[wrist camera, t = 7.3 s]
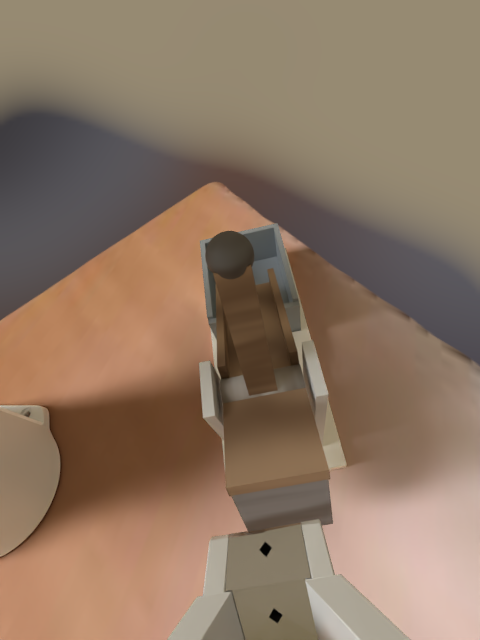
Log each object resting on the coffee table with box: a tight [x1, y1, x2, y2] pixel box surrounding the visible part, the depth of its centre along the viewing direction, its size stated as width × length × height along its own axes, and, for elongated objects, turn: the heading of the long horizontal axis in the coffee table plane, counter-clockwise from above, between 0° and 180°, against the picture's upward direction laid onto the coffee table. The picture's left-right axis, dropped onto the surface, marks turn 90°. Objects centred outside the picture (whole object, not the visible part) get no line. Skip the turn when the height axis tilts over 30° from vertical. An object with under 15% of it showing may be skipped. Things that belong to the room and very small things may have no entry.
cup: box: [200, 223, 301, 340], centre depth 44 cm, size 13×10×6 cm
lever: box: [205, 231, 333, 531], centre depth 26 cm, size 20×6×19 cm, turn 9°
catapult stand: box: [199, 248, 347, 470], centre depth 36 cm, size 30×12×17 cm, turn 8°
